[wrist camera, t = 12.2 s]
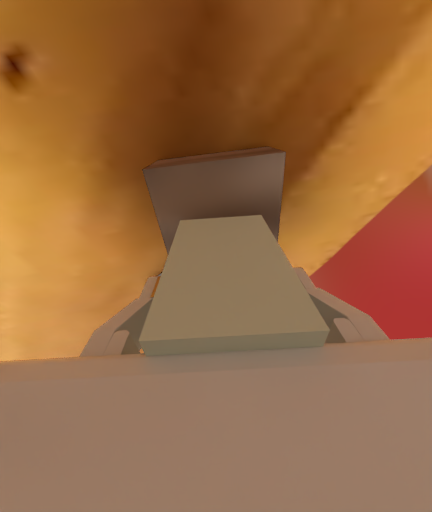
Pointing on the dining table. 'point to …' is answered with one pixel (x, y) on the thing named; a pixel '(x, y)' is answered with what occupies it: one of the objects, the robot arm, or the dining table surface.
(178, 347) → the sage block
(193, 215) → the walnut block
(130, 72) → the dining table surface
